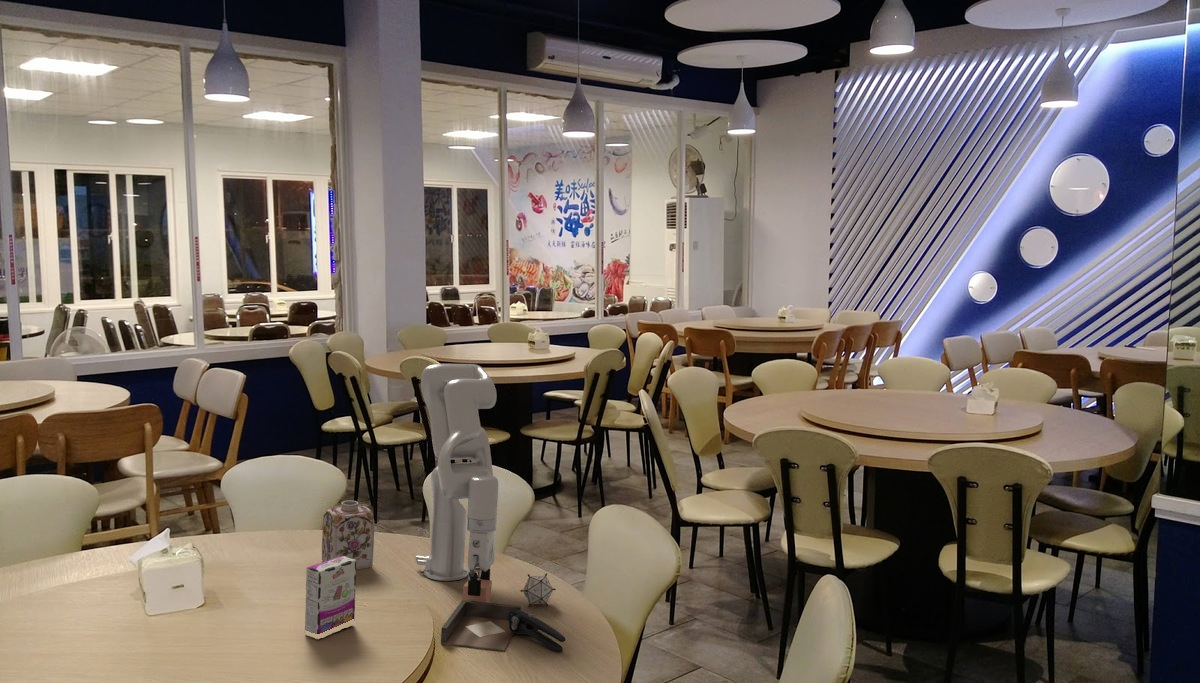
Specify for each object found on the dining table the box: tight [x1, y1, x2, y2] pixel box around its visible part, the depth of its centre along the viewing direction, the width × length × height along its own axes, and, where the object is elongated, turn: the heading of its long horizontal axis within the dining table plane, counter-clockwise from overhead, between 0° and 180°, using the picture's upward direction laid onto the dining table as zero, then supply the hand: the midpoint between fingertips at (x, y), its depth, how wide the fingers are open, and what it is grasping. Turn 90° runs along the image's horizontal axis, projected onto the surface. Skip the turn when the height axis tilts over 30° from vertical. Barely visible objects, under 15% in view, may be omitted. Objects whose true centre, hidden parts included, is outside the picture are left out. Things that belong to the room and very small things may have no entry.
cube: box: [462, 579, 493, 603], centre depth 231 cm, size 6×6×6 cm
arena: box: [440, 599, 522, 652], centre depth 214 cm, size 15×18×4 cm
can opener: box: [508, 608, 566, 652], centre depth 212 cm, size 18×7×6 cm, turn 48°
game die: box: [519, 572, 557, 608], centre depth 234 cm, size 9×8×10 cm
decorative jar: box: [321, 500, 375, 570], centre depth 254 cm, size 12×12×18 cm
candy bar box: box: [304, 556, 357, 634], centre depth 209 cm, size 11×5×16 cm, turn 148°
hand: (478, 589), depth 230 cm, fingers open, 9 cm apart
